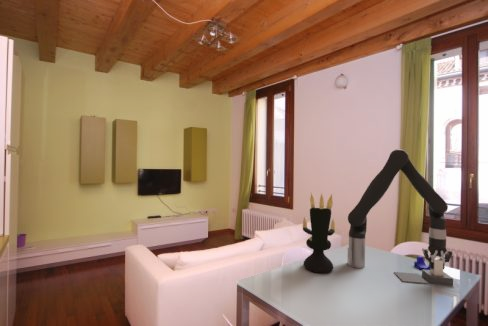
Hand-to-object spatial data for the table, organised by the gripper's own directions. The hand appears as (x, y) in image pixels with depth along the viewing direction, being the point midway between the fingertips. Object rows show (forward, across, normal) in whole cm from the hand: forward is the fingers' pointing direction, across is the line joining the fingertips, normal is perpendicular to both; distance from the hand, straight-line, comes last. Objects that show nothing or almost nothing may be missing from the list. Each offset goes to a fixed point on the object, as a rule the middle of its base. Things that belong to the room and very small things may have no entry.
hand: (436, 269), depth 142 cm
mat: (+6, -13, 0) cm, 14 cm away
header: (+6, 0, 0) cm, 6 cm away
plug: (+5, 0, 0) cm, 5 cm away
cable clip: (+6, +1, +14) cm, 16 cm away
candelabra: (+6, -60, +2) cm, 60 cm away
